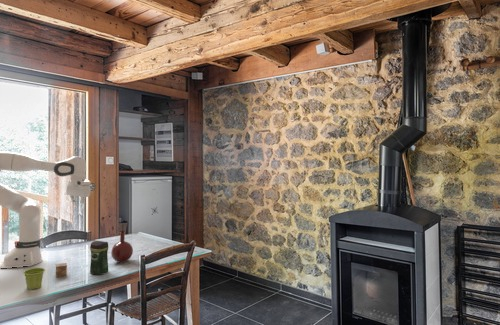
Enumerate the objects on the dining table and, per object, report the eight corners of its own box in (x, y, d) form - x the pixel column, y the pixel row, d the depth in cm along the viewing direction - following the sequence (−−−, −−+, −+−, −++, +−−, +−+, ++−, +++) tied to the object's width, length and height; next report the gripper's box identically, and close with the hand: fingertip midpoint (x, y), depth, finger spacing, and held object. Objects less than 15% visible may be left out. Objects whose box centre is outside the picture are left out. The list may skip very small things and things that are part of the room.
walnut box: (56, 278, 184) (56, 267, 184) (55, 275, 189) (55, 264, 189) (66, 276, 187) (66, 265, 187) (66, 273, 192) (66, 262, 192)
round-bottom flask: (137, 260, 218) (137, 230, 217) (122, 266, 206) (122, 234, 205) (121, 257, 223) (122, 228, 222) (106, 263, 211) (106, 232, 210)
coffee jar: (110, 271, 196) (111, 240, 196) (101, 276, 188) (101, 243, 188) (97, 269, 199) (97, 239, 199) (87, 274, 191) (87, 242, 191)
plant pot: (48, 283, 176) (48, 267, 176) (37, 291, 166) (38, 274, 166) (30, 283, 175) (30, 267, 175) (19, 291, 166) (19, 273, 166)
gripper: (63, 180, 216) (63, 201, 216) (83, 182, 206) (82, 204, 206) (73, 180, 221) (72, 201, 222) (92, 182, 211) (91, 203, 211)
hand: (77, 202), depth 214 cm, fingers open, 8 cm apart
